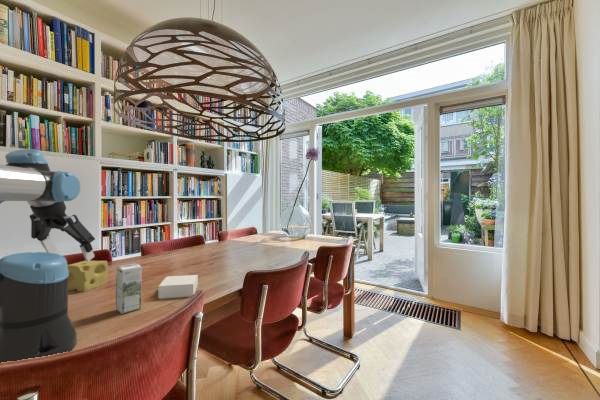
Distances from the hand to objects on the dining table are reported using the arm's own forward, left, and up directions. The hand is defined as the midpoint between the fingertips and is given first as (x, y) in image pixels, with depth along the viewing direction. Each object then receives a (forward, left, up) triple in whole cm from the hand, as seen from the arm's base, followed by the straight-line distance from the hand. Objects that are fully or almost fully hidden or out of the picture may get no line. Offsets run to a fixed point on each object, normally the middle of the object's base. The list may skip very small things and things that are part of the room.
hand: (72, 256), depth 91 cm
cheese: (+21, +6, -17) cm, 28 cm away
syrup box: (-7, -19, -17) cm, 27 cm away
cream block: (+7, -32, -17) cm, 37 cm away
